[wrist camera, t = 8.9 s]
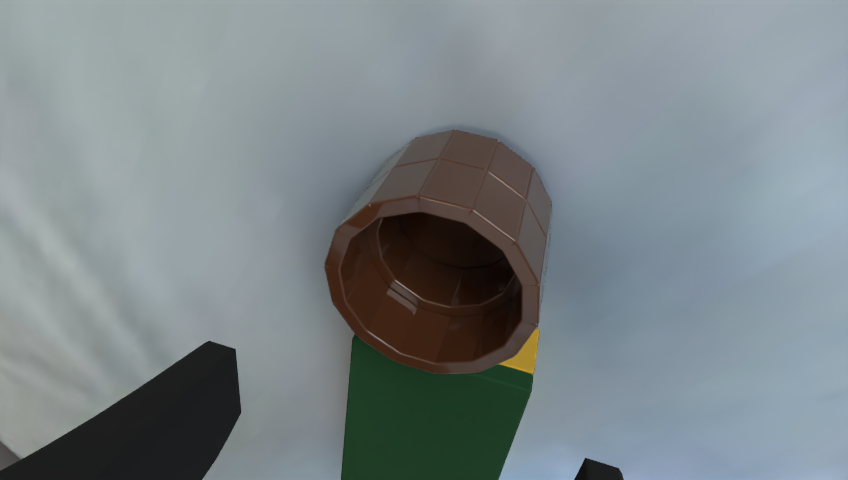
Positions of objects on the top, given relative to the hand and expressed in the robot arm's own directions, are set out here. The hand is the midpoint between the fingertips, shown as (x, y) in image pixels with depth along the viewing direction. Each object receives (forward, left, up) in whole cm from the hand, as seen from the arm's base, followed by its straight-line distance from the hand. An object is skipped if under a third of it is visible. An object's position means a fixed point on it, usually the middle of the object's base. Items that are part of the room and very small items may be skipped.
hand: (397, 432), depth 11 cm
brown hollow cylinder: (0, 0, -9) cm, 9 cm away
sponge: (-8, 0, -9) cm, 12 cm away
